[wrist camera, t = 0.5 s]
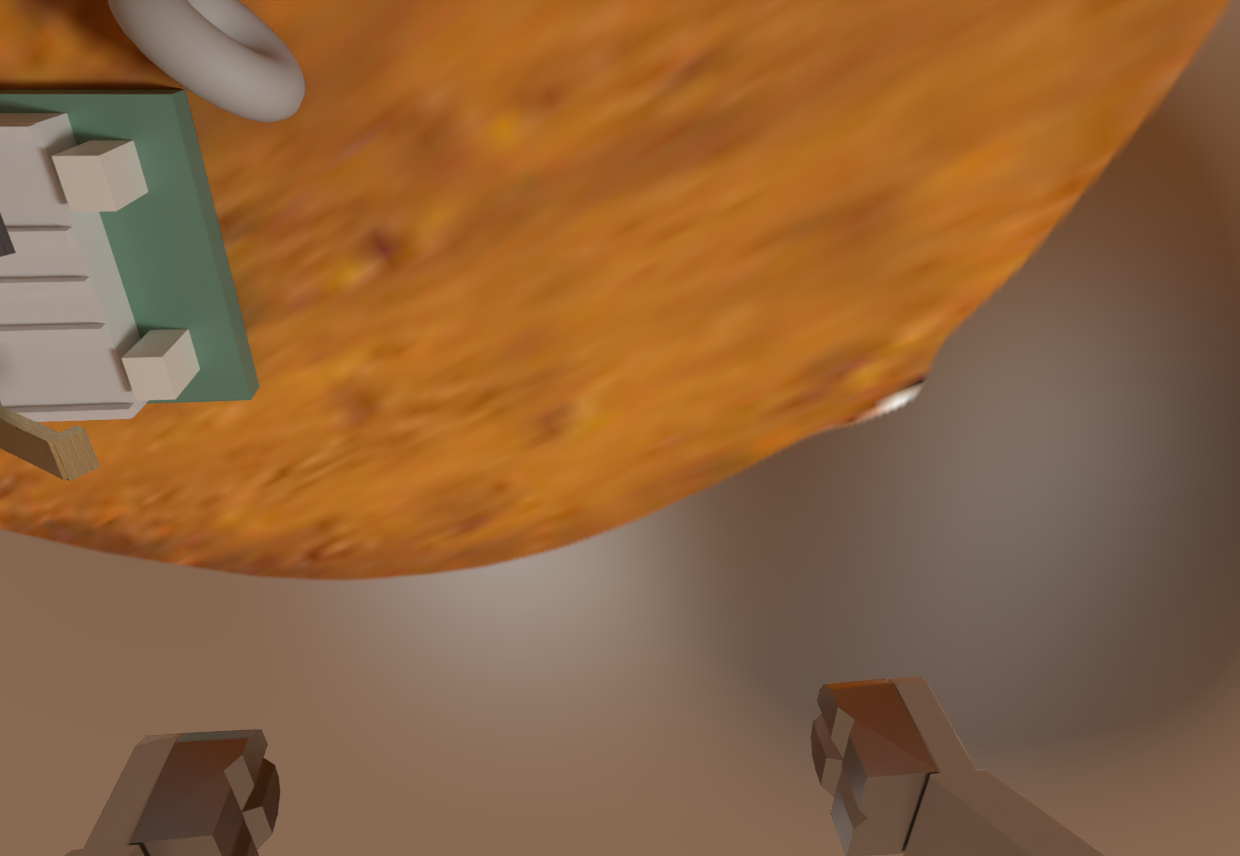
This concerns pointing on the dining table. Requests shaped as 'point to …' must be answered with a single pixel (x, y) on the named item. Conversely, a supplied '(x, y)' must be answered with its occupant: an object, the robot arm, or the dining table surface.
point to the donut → (216, 54)
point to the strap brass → (47, 446)
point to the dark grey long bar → (5, 240)
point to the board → (165, 229)
